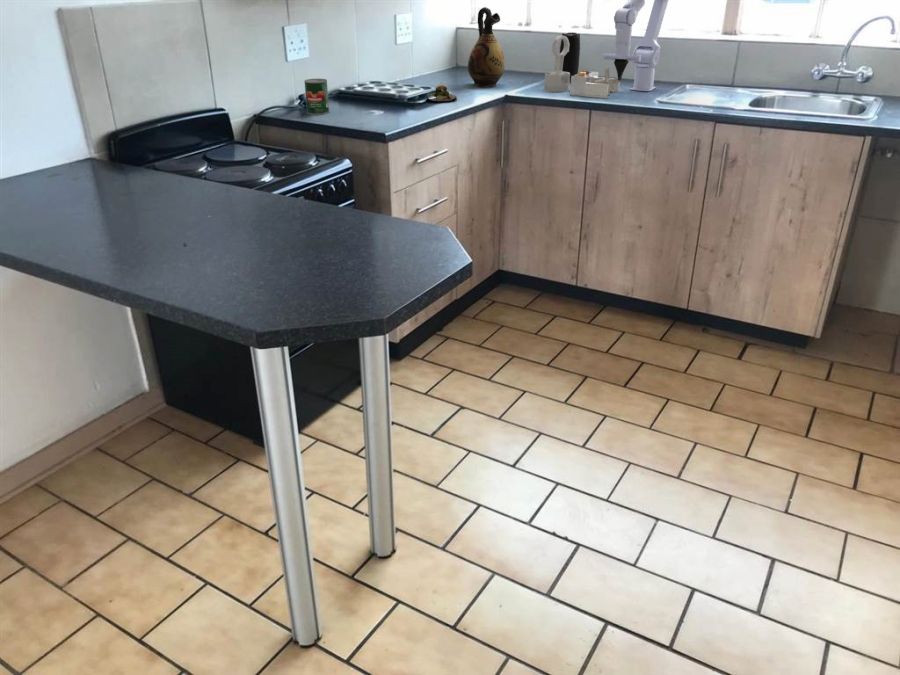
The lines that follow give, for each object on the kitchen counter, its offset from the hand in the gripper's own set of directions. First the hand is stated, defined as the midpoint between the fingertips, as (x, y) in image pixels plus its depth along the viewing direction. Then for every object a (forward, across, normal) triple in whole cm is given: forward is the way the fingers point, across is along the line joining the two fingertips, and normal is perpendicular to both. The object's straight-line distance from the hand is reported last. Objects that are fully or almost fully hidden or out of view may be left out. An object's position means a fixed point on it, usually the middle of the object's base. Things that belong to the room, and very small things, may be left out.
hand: (619, 80), depth 289 cm
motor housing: (+6, -10, 0) cm, 11 cm away
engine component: (+6, -26, +2) cm, 27 cm away
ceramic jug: (+6, -57, -2) cm, 57 cm away
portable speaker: (+6, -30, +25) cm, 40 cm away
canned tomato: (+6, -86, -79) cm, 117 cm away
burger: (+6, -57, -40) cm, 70 cm away
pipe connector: (+6, -4, -1) cm, 7 cm away
